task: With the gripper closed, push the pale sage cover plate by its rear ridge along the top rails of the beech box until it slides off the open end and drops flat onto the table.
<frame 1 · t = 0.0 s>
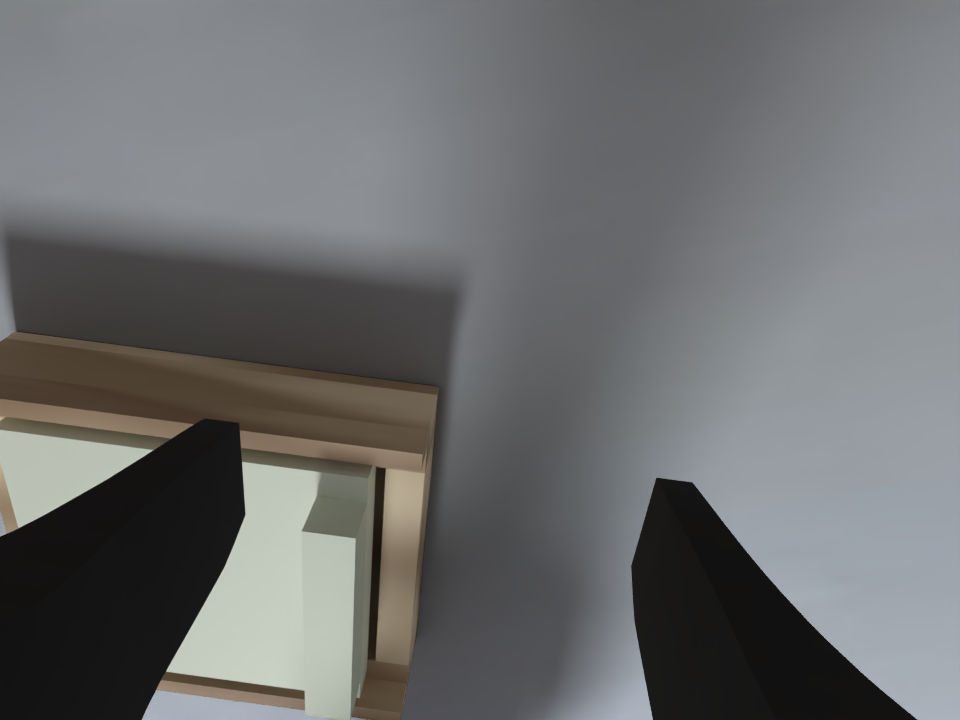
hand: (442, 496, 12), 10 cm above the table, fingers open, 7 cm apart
cover plate: (209, 550, 24), point 2 cm above the table, touching box
box: (236, 501, 26), on the table
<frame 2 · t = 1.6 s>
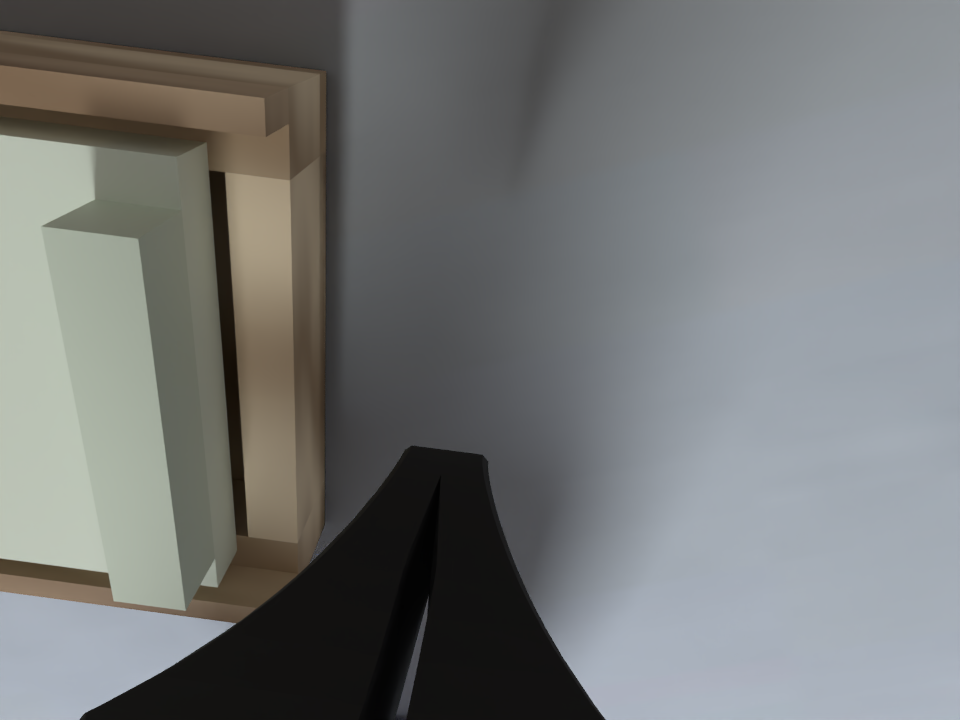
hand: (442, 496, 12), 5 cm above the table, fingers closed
box: (41, 298, 17), on the table
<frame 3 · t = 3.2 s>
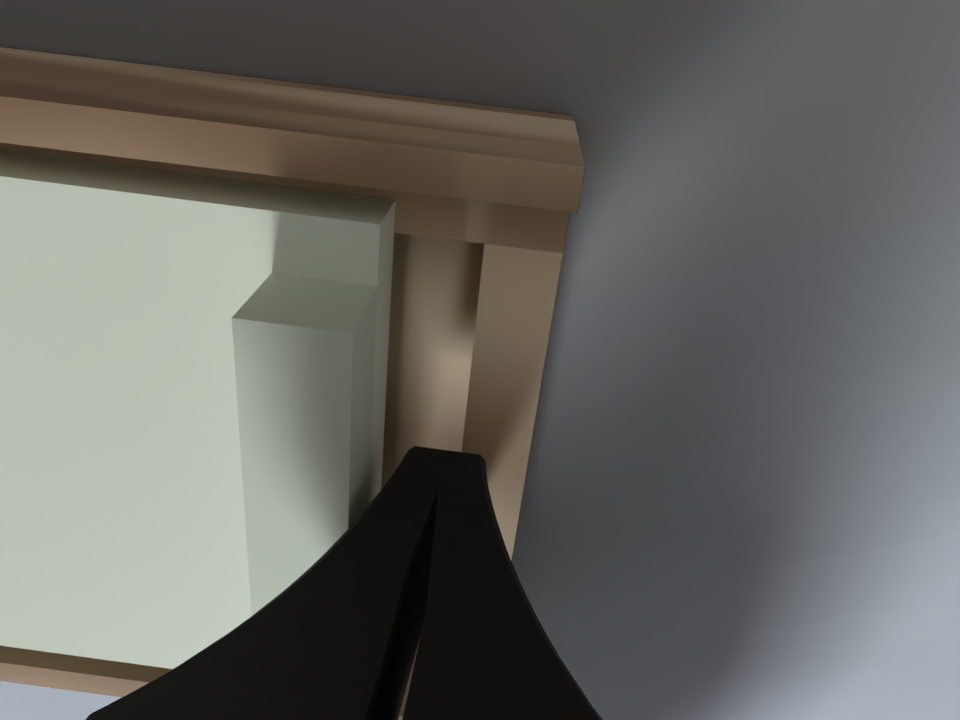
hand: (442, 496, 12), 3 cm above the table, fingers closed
cover plate: (85, 423, 13), point 3 cm above the table, touching gripper
box: (202, 367, 15), on the table
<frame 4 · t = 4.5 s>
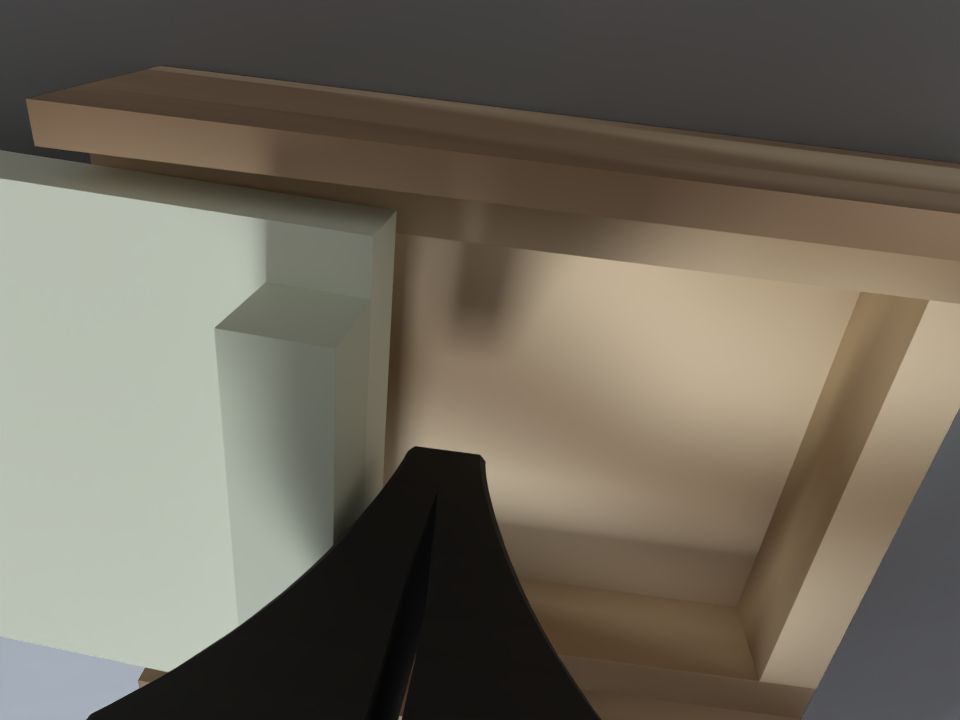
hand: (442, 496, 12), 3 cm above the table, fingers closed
cover plate: (93, 424, 13), point 2 cm above the table, touching box
box: (516, 407, 15), on the table
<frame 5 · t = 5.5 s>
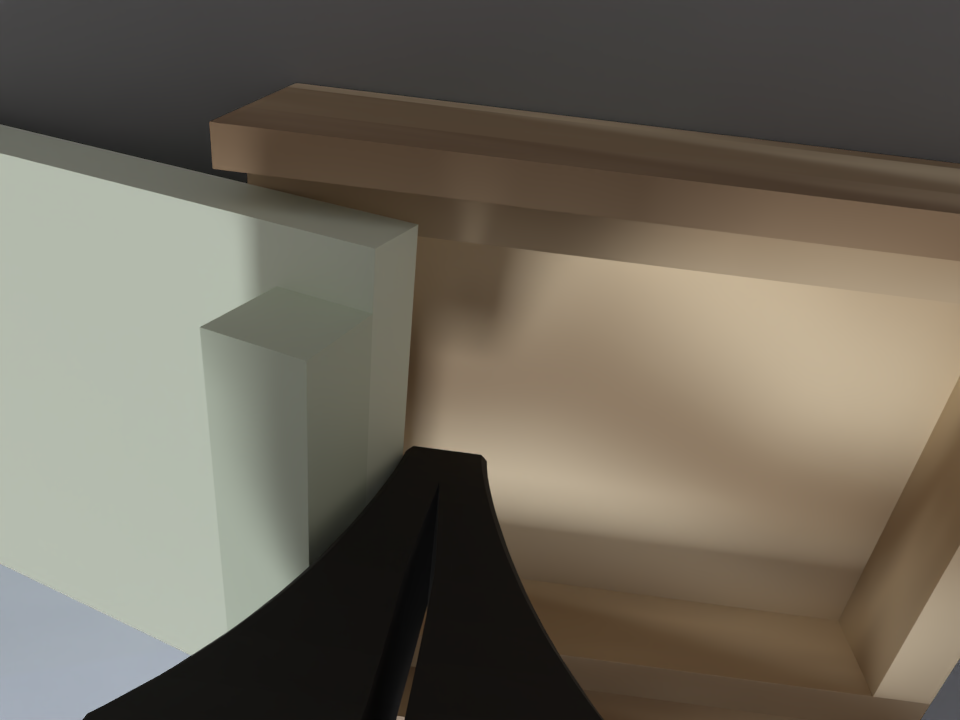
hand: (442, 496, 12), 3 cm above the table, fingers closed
cover plate: (147, 407, 14), point 2 cm above the table, tilted 18°, touching box, gripper
box: (627, 421, 15), on the table
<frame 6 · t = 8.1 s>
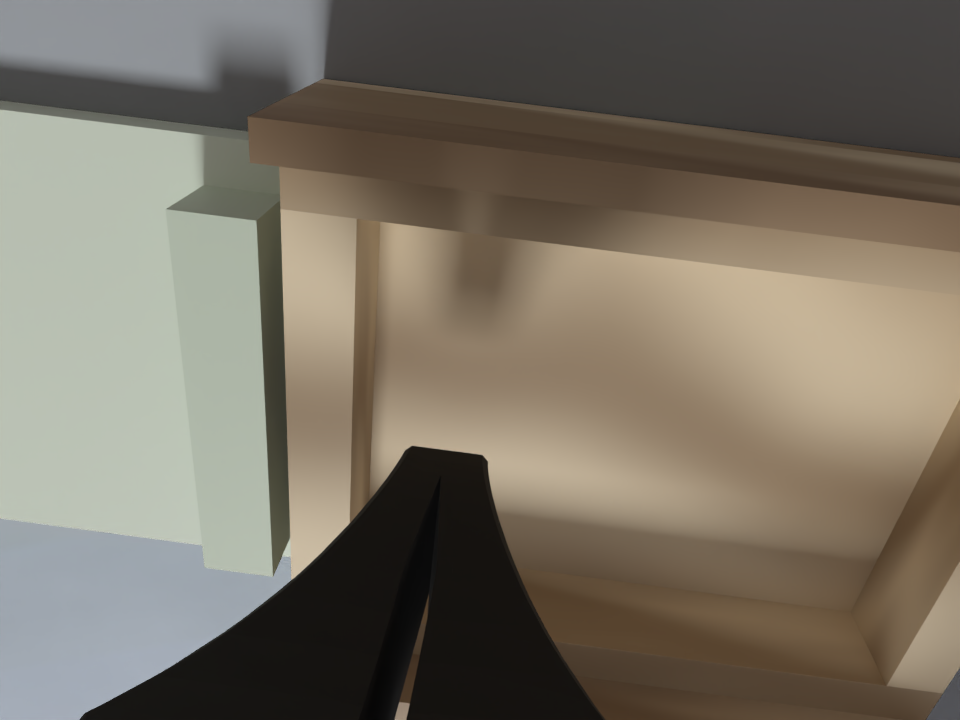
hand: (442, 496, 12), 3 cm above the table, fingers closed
cover plate: (63, 325, 16), on the table
box: (645, 414, 15), on the table
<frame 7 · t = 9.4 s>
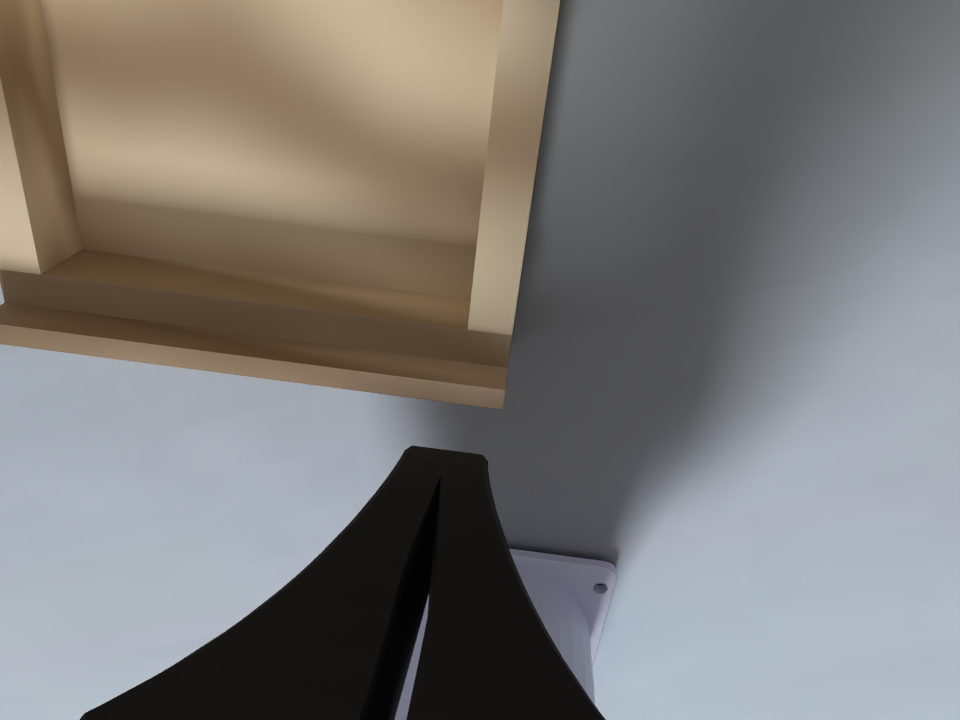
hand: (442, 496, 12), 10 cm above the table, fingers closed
box: (278, 115, 19), on the table
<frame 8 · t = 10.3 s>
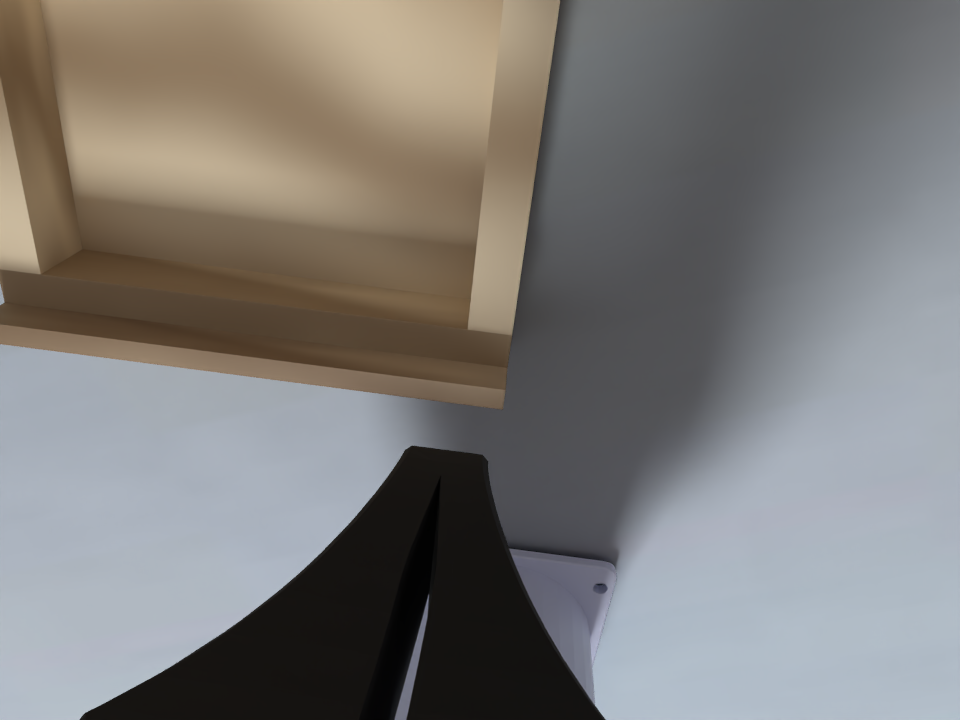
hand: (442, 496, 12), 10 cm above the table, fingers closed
box: (278, 115, 19), on the table
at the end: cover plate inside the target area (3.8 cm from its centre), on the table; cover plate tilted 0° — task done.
